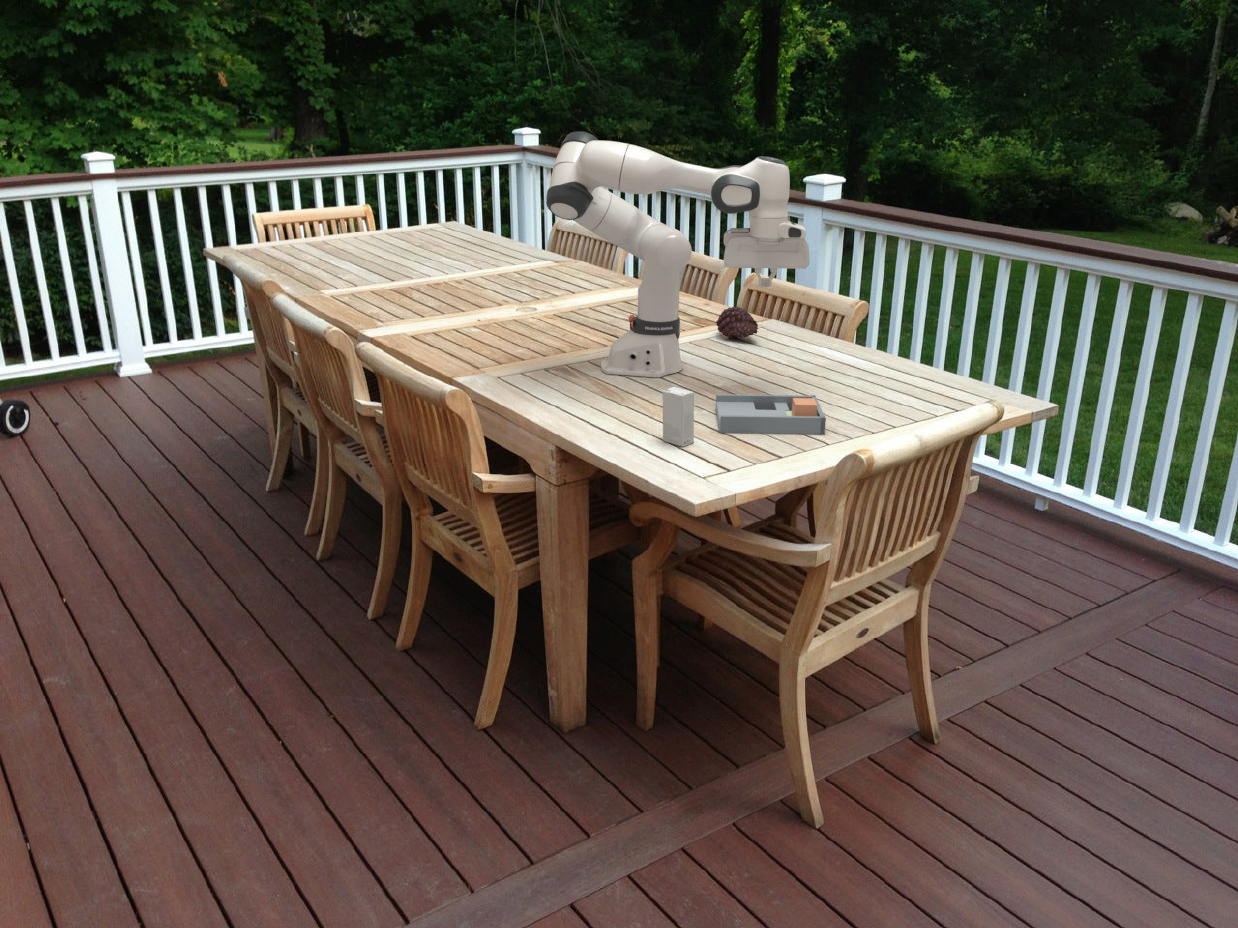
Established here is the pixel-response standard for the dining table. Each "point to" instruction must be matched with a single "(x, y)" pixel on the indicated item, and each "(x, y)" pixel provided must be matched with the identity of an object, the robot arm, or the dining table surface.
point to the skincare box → (678, 416)
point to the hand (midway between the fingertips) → (764, 286)
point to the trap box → (765, 415)
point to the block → (804, 407)
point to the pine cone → (736, 323)
